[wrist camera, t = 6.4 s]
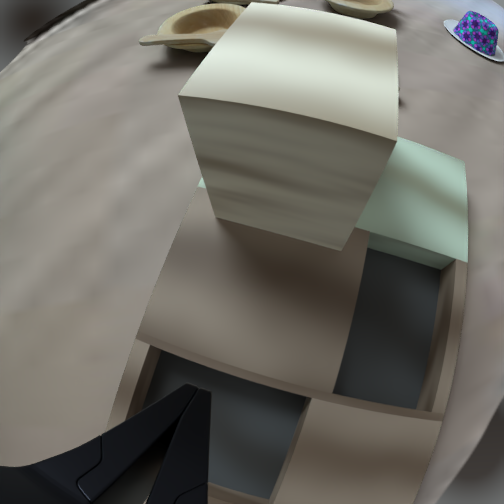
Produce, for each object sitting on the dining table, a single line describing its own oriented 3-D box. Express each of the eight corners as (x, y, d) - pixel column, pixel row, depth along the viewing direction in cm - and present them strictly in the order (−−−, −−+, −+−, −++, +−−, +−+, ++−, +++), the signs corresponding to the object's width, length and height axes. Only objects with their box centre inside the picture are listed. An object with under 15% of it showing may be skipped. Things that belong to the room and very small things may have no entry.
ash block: (341, 251, 19) (397, 141, 10) (215, 216, 20) (177, 94, 11) (361, 142, 22) (395, 29, 13) (257, 117, 23) (251, 2, 14)
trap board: (382, 526, 14) (411, 559, 9) (114, 453, 17) (71, 470, 12) (451, 178, 23) (480, 139, 18) (243, 119, 26) (238, 70, 21)
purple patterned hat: (443, 39, 33) (453, 14, 28) (441, 15, 37) (448, -6, 32) (508, 75, 31) (521, 52, 26) (497, 44, 35) (506, 24, 30)
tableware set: (225, -22, 42) (223, -39, 38) (388, 1, 38) (392, -18, 34) (121, 86, 30) (109, 59, 27) (397, 129, 26) (410, 98, 22)
